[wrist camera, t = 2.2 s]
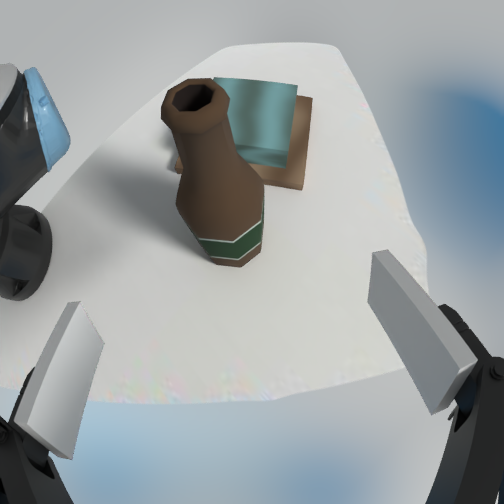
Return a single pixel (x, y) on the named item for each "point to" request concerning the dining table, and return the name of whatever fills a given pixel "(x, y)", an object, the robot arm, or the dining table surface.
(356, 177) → the dining table surface
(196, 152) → the beer bottle
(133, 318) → the dining table surface
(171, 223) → the dining table surface
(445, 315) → the robot arm
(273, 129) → the display base
